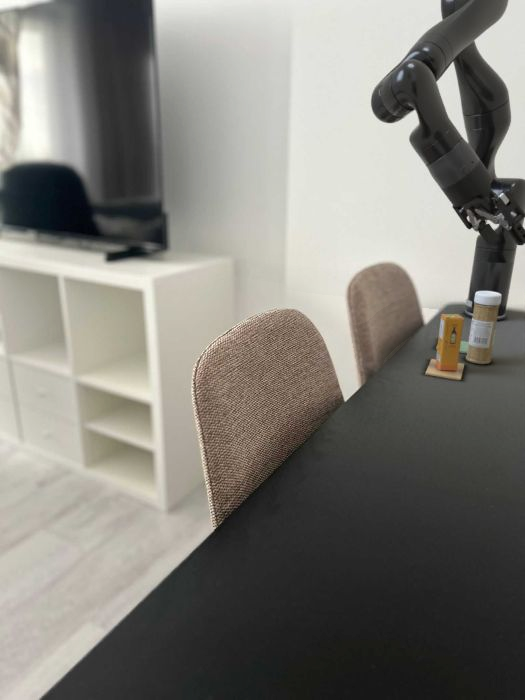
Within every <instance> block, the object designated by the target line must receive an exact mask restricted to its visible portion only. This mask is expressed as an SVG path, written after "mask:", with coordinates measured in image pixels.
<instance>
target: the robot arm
mask: <svg viewBox="0 0 525 700" xmlns="http://www.w3.org/2000/svg"><path fill="white" fill-rule="evenodd" d="M508 5H509V0H440V13H441V21H439V22H438V23H435V25H433V26H432V27H430V28H429V29H427V31H425V32H424V33H423V34H422V35H421V36H420V37H419V39H418V40H417V41H416V42H415V43H414V44H413V46H412V47H411V48H410V49H409V50H408V52H407V54H406V55H405V56H404V57H403V58H402V60H401V61H400V62H398V63H397V65H396V66H394V67H393V68H392V69H391V70H390V71H389V72H388V73H387V74H386V75H385V76H384V77H383V78H382V79H381V80H380V81H379V82H378V83H377V84H376V86H375V87H374V89H373V90H372V94H371V98H370V107H371V112H372V113H373V115H374V117H375V118H376V119H377V120H378V121H379V122H382V123H385V124H395V123H398V122H400V121H402V120H403V119H405V118H406V117H407V116H409V115H410V114H412V113H413V112H414V111H415V112H416V115H417V118H418V119H417V120H418V124H417V125H416V126H415V127H414V128H413V130H412V131H411V132H410V134H409V135H408V142H409V144H410V146H411V147H412V149H413V150H414V152H415V153H416V154H417V156H418V157H419V158H420V160H421V161H422V163H423V164H424V165H425V167H426V168H427V170H428V172H429V174H430V176H431V177H432V179H433V180H434V182H435V183H436V185H438V187H439V188H440V190H441V191H442V192H443V193H444V195H445V196H446V198H447V199H448V200H449V202H450V203H451V205H452V206H451V207H452V209H453V210H454V212H455V213H456V215H457V216H458V218H459V219H460V220H461V222H462V223H463V225H464V226H465V228H466V229H467V230H471V229H473V231H475V232H476V233H477V232H478V235H477V237H476V240H475V246H474V253H473V260H472V267H471V274H470V281H469V287H468V288H469V289H468V294H467V299H465V305H466V306H465V307H466V308H465V310H464V315H465V316H467V317H470V318H472V317H473V312H474V303H475V302H474V298H475V293H476V292H478V291H492V292H497V293H500V294H501V295H502V297H501V304H500V306H499V308H498V315H497V321H502V320H504V319H506V311H507V306H508V300H509V294H510V289H511V282H512V277H513V272H514V268H515V267H514V266H515V261H516V255H517V249H518V246H524V245H525V228H524V222H525V178H521V177H519V178H518V177H498V176H497V173H496V166H495V165H496V164H495V163H496V162H495V161H496V156H497V154H498V151H499V149H500V147H501V146H502V144H503V142H504V141H505V139H506V136H507V134H508V132H509V130H510V127H511V125H512V124H511V123H512V111H511V101H510V100H511V99H510V94H509V93H510V92H509V89H508V87H507V85H506V83H505V81H504V80H503V79H502V77H501V76H500V75H499V74H498V72H496V70H494V68H493V67H492V66H491V65H490V64H489V63H488V61H486V60H485V58H484V57H483V56H482V54H481V52H480V51H479V49H478V46H477V44H476V41H475V40H477V39H478V38H479V37H480V36H482V35H483V34H484V33H485V32H486V31H487V30H489V29H490V28H491V27H493V26H494V25H495V24H497V23H498V22H499V21H500V20H501V19H502V17H503V16H504V14H505V13H506V11H507V8H508ZM452 63H453V66H454V71H455V77H456V80H457V87H458V92H459V99H460V107H461V114H462V119H463V125H464V129H465V130H464V131H465V134H466V138H467V139H466V140H467V141H466V140H465V138H464V137H463V136H462V134H461V133H460V132H459V130H458V129H457V127H456V126H455V125H454V123H453V122H452V120H451V119H450V117H449V115H448V112H447V110H446V106H445V104H444V101H443V98H442V95H441V92H440V89H439V86H438V83H437V82H438V81H439V80H440V79H441V77H442V76H444V74H445V73H446V71H447V70H448V69H449V68H450V66H451V65H452ZM488 221H490V222H491V223H492V224H494V225H498V226H497V227H496V228H493V227H492V225H491V223H488Z"/></svg>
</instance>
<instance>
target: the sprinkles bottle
mask: <svg viewBox="0 0 525 700" xmlns="http://www.w3.org/2000/svg"><path fill="white" fill-rule="evenodd" d="M501 297H502V295H501V294H500V293H497V292H492V291H478V292H476V293H475V298H474V302H475V303H474V312H473V317H471V324H470V328H469V329H470V330H469V336H468V341H467V342H468V343H469V345H468V351H467V353H466V356H465V360H466V361H468V362H470V363H472V364H477V365H486V364H490V363H491V361H492V351H493V346H494V342H495V338H496V337H495V335H496V327H497V321H498V320H497V315H498V308H499V306H500V304H501Z"/></svg>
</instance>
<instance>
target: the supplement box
mask: <svg viewBox="0 0 525 700" xmlns="http://www.w3.org/2000/svg"><path fill="white" fill-rule="evenodd" d="M464 321H465V318H464V317H462V315H460V314H459V313H441V314H440V321H439V331H438V338H437V345H438V347H437V346H436V347H437V349H436V358H435V359H436V366H437V368H438V369H439V370H442V371H443V370H446V371H457V367H458V363H459V357H460V352H459V351H460V344H461V341H462V335H463V328H464Z"/></svg>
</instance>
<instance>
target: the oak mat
mask: <svg viewBox="0 0 525 700" xmlns="http://www.w3.org/2000/svg"><path fill="white" fill-rule="evenodd" d="M464 368H465V363H462V362H458V367H457V371H446V370H443V371H442V370H439V369H438V368H437V366H436V358H431V359H430V362H429V364H428V365H427V369H426V371H425V372H424V373H425V376H430V377H437V378H443V379H450V380H454V381H455V380H456V381H461V380H462V377H463V374H464V373H463V372H464Z"/></svg>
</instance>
